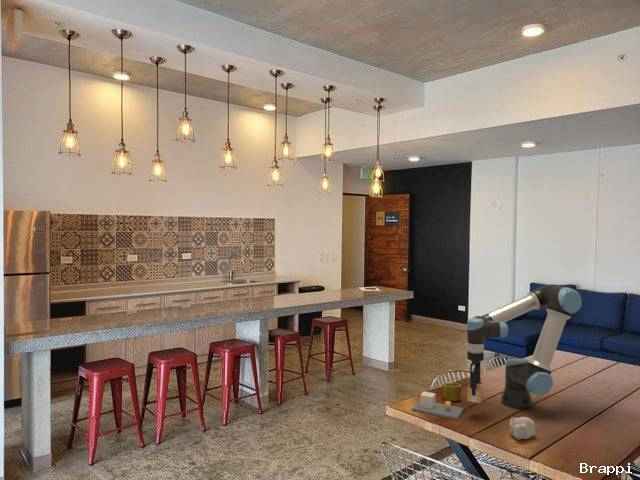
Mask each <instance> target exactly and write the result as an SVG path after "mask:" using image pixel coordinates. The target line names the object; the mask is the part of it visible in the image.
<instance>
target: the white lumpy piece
mask: <svg viewBox="0 0 640 480" xmlns="http://www.w3.org/2000/svg"><path fill="white" fill-rule="evenodd" d="M509 420H510V421H509V432H510V434H511V436H512V437H515V439H516V440H522V439H523V440H527V439H530V438H531V437H532V436H533V435H534V434H535V433H536V424H535V422H534V421H533V419H531V418H530V417H528V416H520V415H517V416H515V417H511V419H509Z"/></svg>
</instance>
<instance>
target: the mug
mask: <svg viewBox="0 0 640 480" xmlns="http://www.w3.org/2000/svg"><path fill="white" fill-rule="evenodd" d="M442 392H443V397H444V400H445V401H450V402H460V401H462V385H461V384H460V383H458V382H452V381H447V382H444V383H443V384H442Z"/></svg>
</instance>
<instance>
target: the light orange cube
mask: <svg viewBox="0 0 640 480" xmlns="http://www.w3.org/2000/svg"><path fill="white" fill-rule="evenodd" d="M469 387H470V385H469V386H468V387H467V390H466V391H467V397H466V401H467V402H471V388H469ZM483 390H484V387H483V386H481V385H480V386H477V402H475V403H477V404H481V403H482V401H483V398H484V393H483V392H484V391H483Z"/></svg>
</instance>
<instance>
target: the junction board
mask: <svg viewBox="0 0 640 480" xmlns="http://www.w3.org/2000/svg"><path fill="white" fill-rule="evenodd" d="M436 395H437V394H436V393H435V392H429V391H423V392H422V393H421V394H420V396H419V397H420V398H419V400H418V401H417V402H416V403H415V404H414V405H413V406H412V408H411V411H412V412H416V413H421V414H425V415H431V416H436V417H441V418H445V419H450V420H455V421H458V419H459V418H460V416H461V415H462V413H463V412H464V407H462V406H461V407H460V406H455V405H451V404H452V401H447V400H445V403H440V402H436V398H437V397H436Z"/></svg>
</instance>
